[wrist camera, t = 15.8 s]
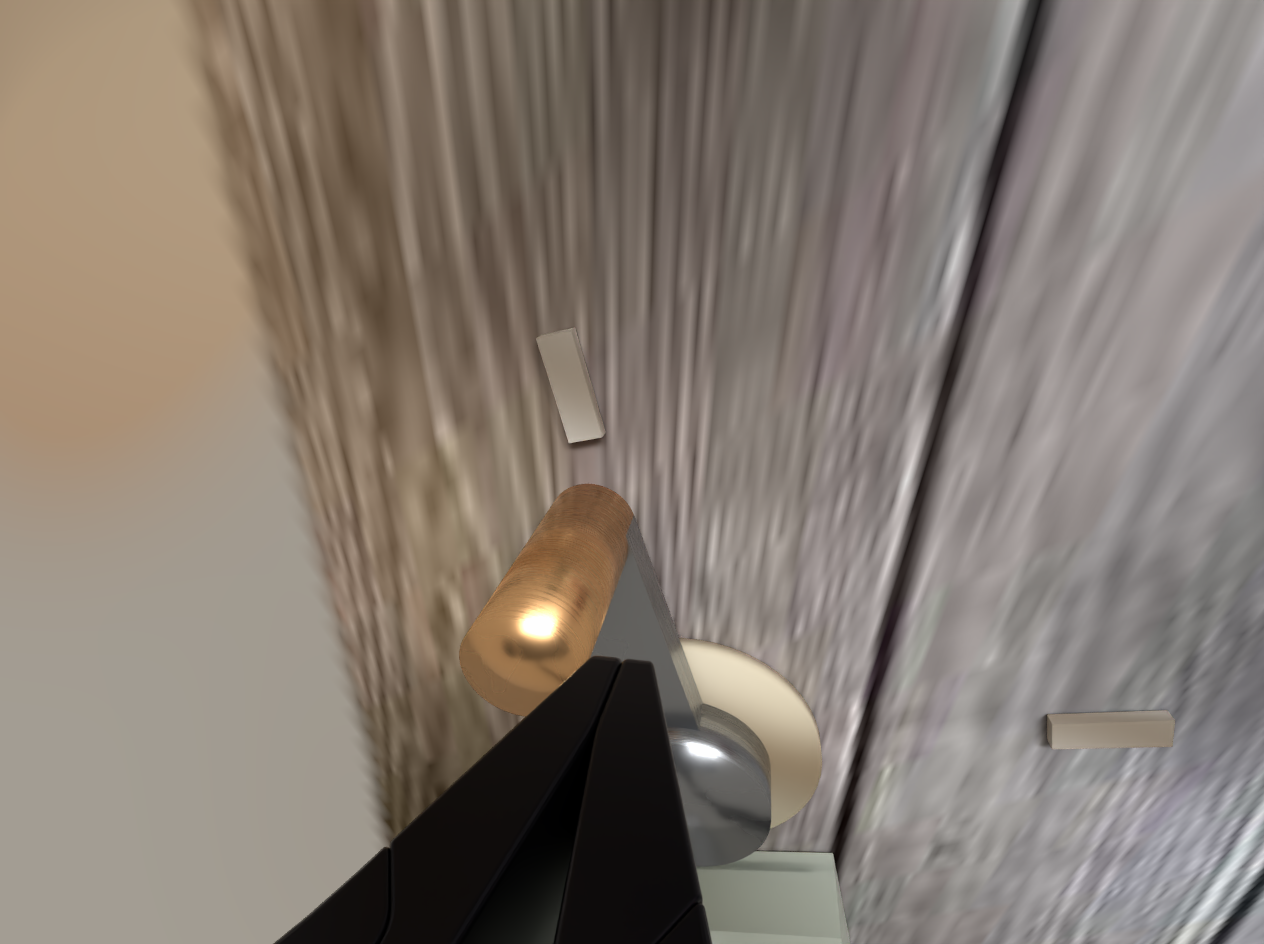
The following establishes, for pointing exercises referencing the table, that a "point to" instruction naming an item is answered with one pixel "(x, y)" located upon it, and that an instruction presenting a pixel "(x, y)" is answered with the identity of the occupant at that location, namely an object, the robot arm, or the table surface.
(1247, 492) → the table surface
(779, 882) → the tray
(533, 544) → the crank
